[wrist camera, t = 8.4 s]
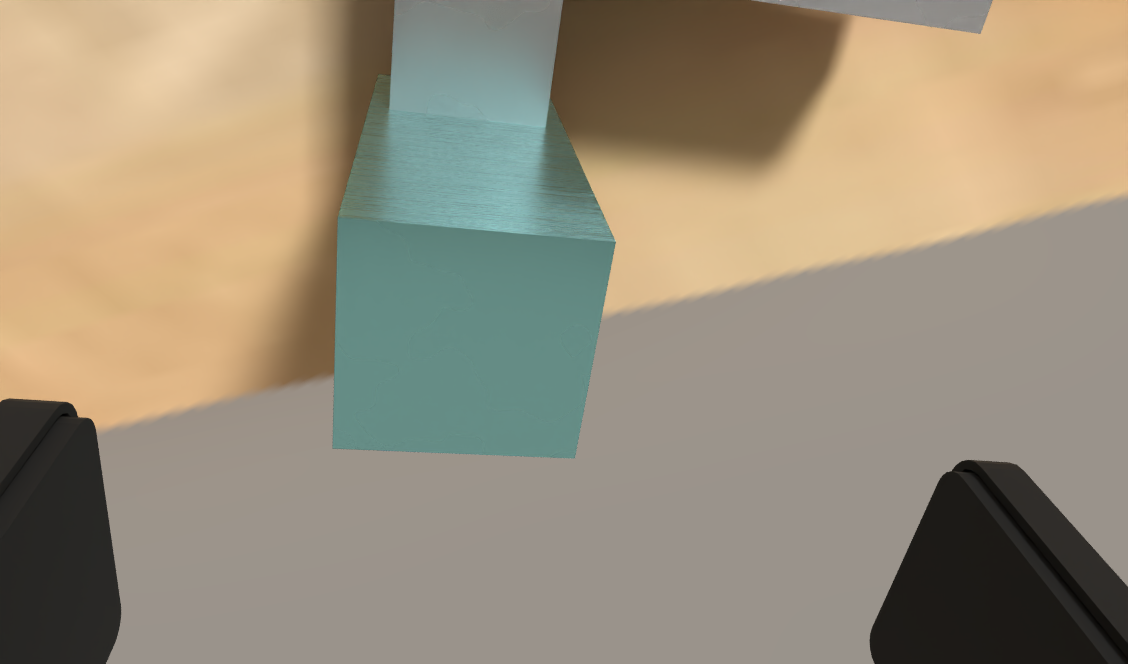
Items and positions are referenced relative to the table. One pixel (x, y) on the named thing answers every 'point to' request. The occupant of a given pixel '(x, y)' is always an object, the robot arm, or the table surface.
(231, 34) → the table surface
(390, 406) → the sled
